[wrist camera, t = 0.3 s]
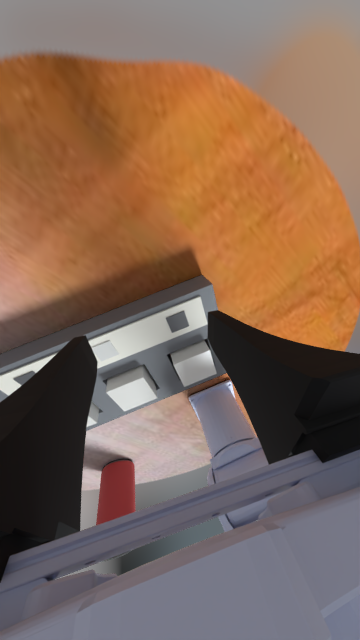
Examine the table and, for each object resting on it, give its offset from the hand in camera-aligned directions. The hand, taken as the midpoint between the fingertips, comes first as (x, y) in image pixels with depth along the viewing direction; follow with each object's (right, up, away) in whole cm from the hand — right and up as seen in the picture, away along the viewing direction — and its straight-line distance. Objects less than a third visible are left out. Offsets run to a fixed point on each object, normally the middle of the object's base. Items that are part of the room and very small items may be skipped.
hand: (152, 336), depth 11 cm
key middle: (-5, -6, +13) cm, 15 cm away
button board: (-5, -4, +13) cm, 14 cm away
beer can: (-12, -30, +28) cm, 43 cm away
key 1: (+3, -3, +13) cm, 14 cm away
